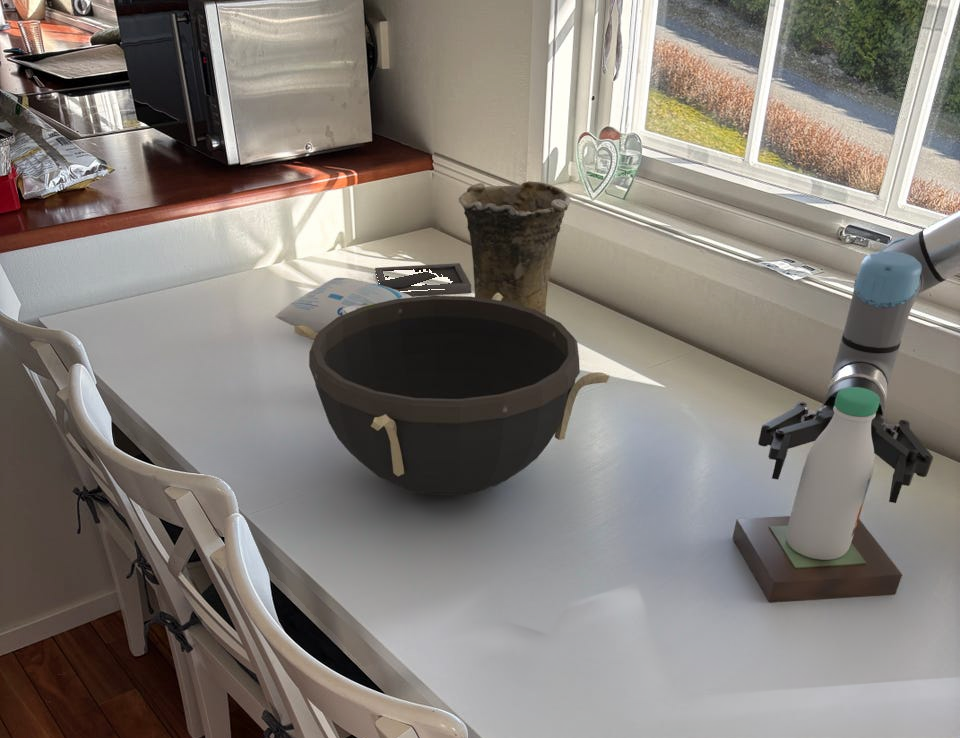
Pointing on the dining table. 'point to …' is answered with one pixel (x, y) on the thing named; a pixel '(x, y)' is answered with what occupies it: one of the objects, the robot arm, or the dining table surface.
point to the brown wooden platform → (813, 564)
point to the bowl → (446, 388)
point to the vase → (514, 239)
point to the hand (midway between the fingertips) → (835, 480)
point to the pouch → (334, 302)
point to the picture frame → (447, 270)
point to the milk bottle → (835, 479)
